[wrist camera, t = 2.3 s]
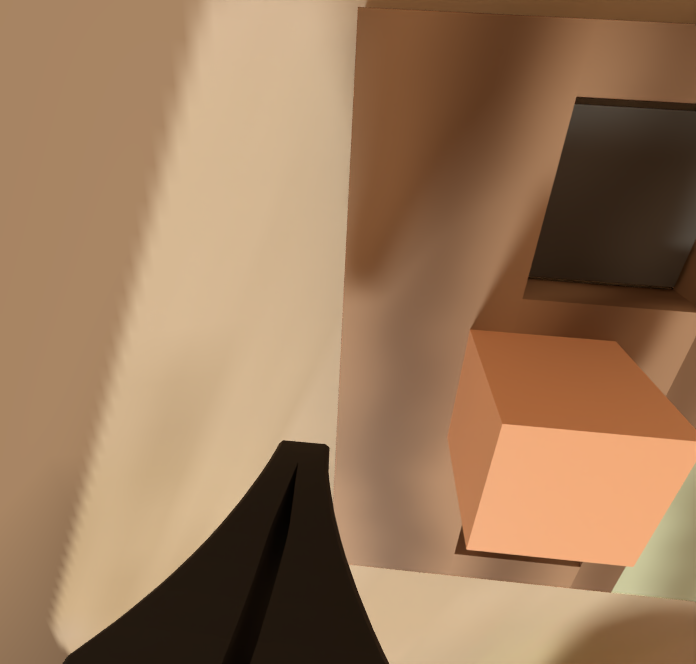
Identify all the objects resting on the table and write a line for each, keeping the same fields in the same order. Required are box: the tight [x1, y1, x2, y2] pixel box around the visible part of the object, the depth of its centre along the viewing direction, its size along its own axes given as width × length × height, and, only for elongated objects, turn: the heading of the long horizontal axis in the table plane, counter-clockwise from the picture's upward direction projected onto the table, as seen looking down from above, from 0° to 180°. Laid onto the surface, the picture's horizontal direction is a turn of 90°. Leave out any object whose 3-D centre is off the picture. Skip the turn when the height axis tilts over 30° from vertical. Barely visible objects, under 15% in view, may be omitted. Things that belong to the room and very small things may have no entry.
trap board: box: [333, 7, 696, 602], centre depth 17 cm, size 20×23×2 cm
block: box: [447, 329, 696, 567], centre depth 14 cm, size 5×5×5 cm
